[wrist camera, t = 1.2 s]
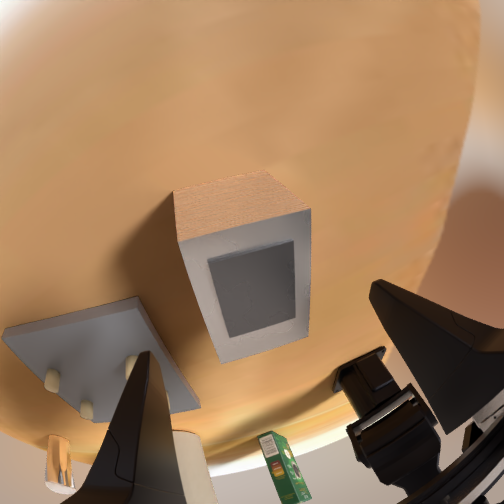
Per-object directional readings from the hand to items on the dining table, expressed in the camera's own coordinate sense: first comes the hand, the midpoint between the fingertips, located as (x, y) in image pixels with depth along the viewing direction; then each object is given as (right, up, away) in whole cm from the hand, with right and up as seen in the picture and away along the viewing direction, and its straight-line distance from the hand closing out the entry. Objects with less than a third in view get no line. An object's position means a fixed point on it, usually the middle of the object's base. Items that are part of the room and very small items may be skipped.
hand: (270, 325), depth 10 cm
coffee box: (+2, -27, +26) cm, 37 cm away
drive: (-2, +3, +5) cm, 6 cm away
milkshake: (-28, -24, +14) cm, 39 cm away
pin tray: (-12, -7, +8) cm, 16 cm away
